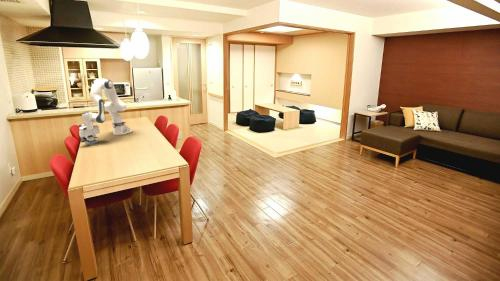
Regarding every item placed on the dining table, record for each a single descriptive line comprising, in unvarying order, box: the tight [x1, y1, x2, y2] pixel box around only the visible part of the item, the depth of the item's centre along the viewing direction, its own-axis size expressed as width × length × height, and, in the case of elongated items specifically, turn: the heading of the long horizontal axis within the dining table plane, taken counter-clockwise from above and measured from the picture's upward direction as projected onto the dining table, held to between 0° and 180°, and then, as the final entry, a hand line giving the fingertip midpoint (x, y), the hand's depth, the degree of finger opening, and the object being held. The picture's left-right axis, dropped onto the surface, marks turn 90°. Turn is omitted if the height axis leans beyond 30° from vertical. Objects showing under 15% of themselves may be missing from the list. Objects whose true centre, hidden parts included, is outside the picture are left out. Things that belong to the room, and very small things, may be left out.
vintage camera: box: [78, 123, 99, 142], centre depth 298 cm, size 10×16×20 cm, turn 78°
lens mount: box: [84, 138, 99, 147], centre depth 289 cm, size 9×9×4 cm
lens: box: [88, 135, 94, 142], centre depth 288 cm, size 5×5×8 cm
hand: (91, 139), depth 288 cm, fingers closed on lens, 5 cm apart
